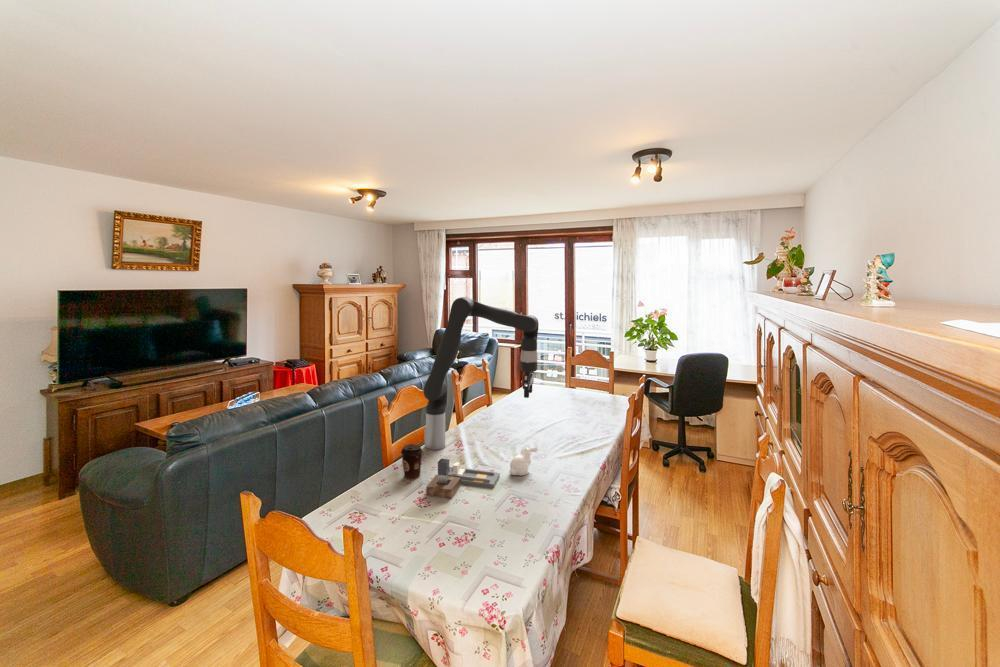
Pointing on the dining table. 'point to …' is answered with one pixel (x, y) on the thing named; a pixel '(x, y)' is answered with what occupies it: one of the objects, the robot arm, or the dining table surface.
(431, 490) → the brown wooden socket block
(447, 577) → the dining table surface
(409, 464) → the coffee cup
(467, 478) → the switch panel
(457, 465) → the switch slider
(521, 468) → the rabbit
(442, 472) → the pin tool
